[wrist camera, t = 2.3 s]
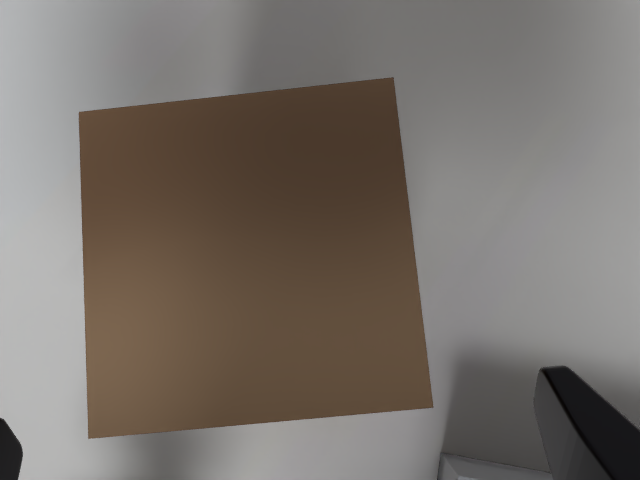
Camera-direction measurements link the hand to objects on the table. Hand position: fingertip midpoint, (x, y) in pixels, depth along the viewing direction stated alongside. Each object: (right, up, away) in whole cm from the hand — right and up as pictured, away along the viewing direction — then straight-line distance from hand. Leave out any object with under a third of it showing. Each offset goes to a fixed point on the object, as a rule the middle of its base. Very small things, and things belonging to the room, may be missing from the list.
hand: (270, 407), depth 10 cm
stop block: (0, +1, +10) cm, 10 cm away
